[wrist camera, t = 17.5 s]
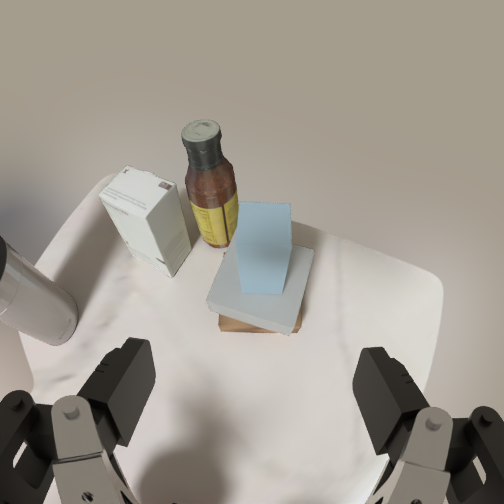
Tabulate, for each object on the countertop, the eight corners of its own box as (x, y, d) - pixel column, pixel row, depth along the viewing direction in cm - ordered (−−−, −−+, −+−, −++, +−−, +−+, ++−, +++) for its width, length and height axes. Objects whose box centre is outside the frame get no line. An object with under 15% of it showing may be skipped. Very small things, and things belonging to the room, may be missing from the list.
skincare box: (133, 257, 41) (93, 196, 28) (154, 228, 44) (124, 161, 31) (175, 280, 39) (142, 219, 26) (196, 248, 42) (176, 179, 29)
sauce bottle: (230, 212, 45) (223, 106, 28) (247, 241, 42) (247, 133, 25) (193, 226, 44) (167, 123, 26) (207, 257, 41) (182, 154, 24)
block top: (210, 311, 33) (205, 300, 30) (237, 244, 38) (236, 227, 35) (289, 335, 32) (294, 328, 28) (308, 264, 37) (314, 250, 33)
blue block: (241, 292, 30) (235, 245, 22) (244, 257, 33) (239, 201, 24) (281, 294, 30) (291, 247, 22) (281, 258, 32) (290, 203, 24)
